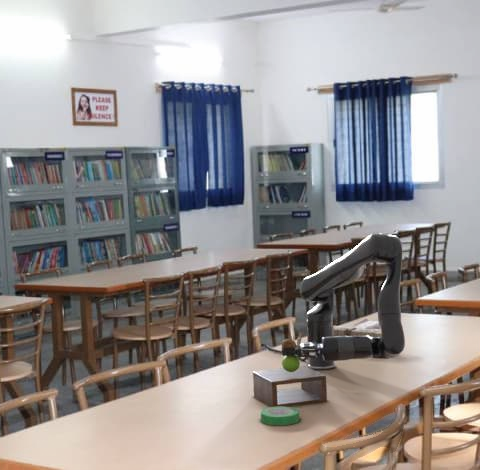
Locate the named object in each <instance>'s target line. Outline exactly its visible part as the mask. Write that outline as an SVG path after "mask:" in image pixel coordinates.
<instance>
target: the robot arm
mask: <svg viewBox="0 0 480 470" xmlns="http://www.w3.org/2000/svg"><path fill="white" fill-rule="evenodd" d="M369 263H380V264H386V269H387V272H386V278H385V280H384V283H383V285H382V287H381V289H380V291H379V293H378V296H377V301H376V306H377V307H376V308H377V320H378V321H379V324H380V326H381V333H382V337H381V338H370V337H369V336H334V337H333V326H334V321H333V320H334V319H333V315H334V310H335V289H338V288H341V287H345V286H348V285H350V284H352V283H354V282H355V281H356V280H358V279H360V277H362V275H363V273H364V271H365V266H366V265H367V264H369ZM402 265H403V243H402V240H401V239H400V238H399V237H398V236H397V235H392V234H386V233H378V232H376V233H372V234H369V235H368V236H367V237H365V238H364V239H363V240H361V242H360V243H358V245H356V246H355V247H354V248H353V249H351V250H349V251H348V252H347V253H345V254H343V255H341V256H340V257H338V258H336V259H335V260H334V261H333V262H331V263H330V264H328V265H326V266H325V267H324V268H323V269H321V270H319V271H317V272H316V273H313V274H311V275H308V276H306V277H305V278H303V280H301V282H300V285H299V294H300V297H301V298H302V300H304V301H305V302H307V303H316V302H317V303H316V305H315V306H314V307H313V308H312V309H310V310H308V311H307V312H306V316H305V318H306V336H307V338H306V340H307V341H306V342H301V345H300V347H296V348H295V349H294V348H283V349H282V348H281V350H279V349H275V348H273V347H271V346H270V345H268V344H266V343H265V342H262V343H261V345H260V347H265V348H266V349H268V350H269V351H272V352H274V353H278V354H282V356H284V357H285V356H290V355H295V356H296V357H297V358H298V359H299V361H302V362H305V361H307V364H308V365H307V367H309V368H311V369H313V370H331V369H334V368H335V367H336V365H335V362H337V361H338V362H339V361H342V362H343V361H350V360H363V359H375V360H376V359H377V360H392V359H396V358H398V357H399V356H400V355H401V354H402V353H403V352H404V350H405V348H406V347H405V346H406V338H405V331H404V327H403V324H402V309H401V295H400V294H401V293H400V292H401V280H402V268H403V267H402ZM296 345H297V343H296Z"/></svg>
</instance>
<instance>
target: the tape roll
mask: <svg viewBox="0 0 480 470" xmlns="http://www.w3.org/2000/svg"><path fill="white" fill-rule="evenodd" d="M299 421H300V410H299V409H298V408H296V407H294V406H288V407H286V406H277V407H270V406H268V407H266V408H263V409H261V411H260V422H261V423H263V424H265V425H268V426H289V425H290V426H291V425H293V424H294V425H295V424H296V423H298V422H299Z"/></svg>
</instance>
